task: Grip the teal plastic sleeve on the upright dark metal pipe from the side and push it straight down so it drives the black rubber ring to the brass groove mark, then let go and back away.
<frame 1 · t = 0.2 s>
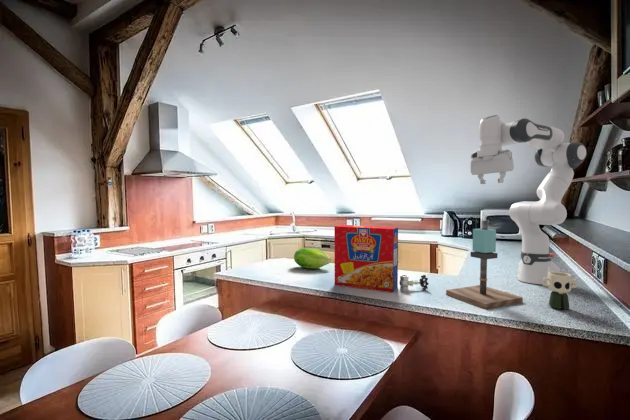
hand: (491, 183, 153), 48 cm above the counter, tool pointing down, fingers open, 8 cm apart
pipe stand: (482, 298, 141), on the counter
valve: (412, 290, 154), on the counter
pasta box: (365, 287, 160), on the counter
green papaya: (311, 269, 198), on the counter
character mug: (558, 308, 129), on the counter
rubber ring: (483, 254, 140), point 18 cm above the counter, slide at 10.0 cm
sleeve: (484, 240, 140), point 24 cm above the counter, slide at 10.5 cm
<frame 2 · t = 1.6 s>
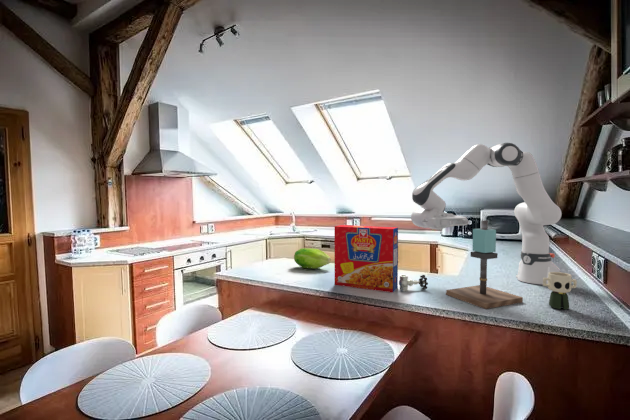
hand: (459, 222, 151), 30 cm above the counter, tool horizontal, fingers open, 8 cm apart
nothing on the counter moved.
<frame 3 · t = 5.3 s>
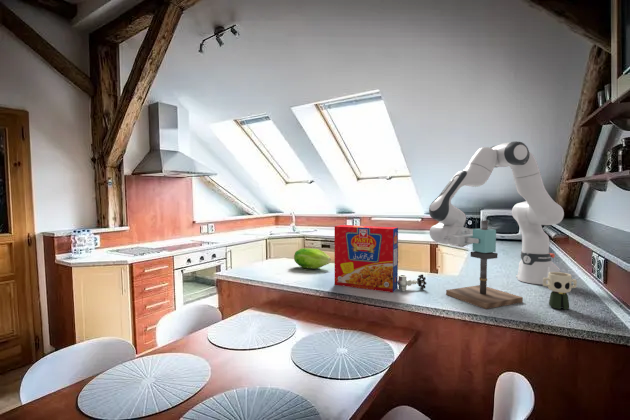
hand: (485, 240, 139), 24 cm above the counter, tool horizontal, fingers closed on sleeve, 6 cm apart
sleeve: (484, 240, 140), point 24 cm above the counter, slide at 10.5 cm, touching gripper
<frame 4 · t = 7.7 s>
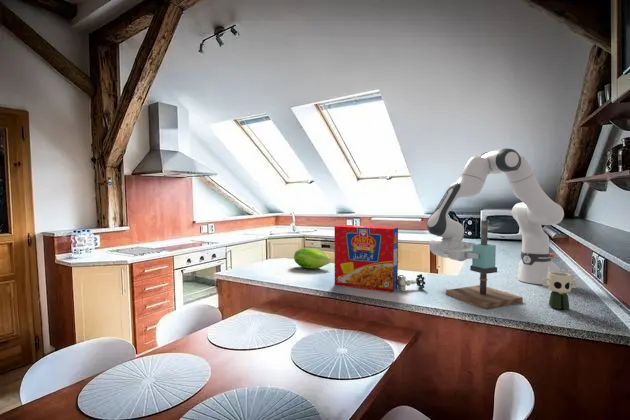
hand: (485, 256, 139), 18 cm above the counter, tool horizontal, fingers closed on sleeve, 6 cm apart
rubber ring: (483, 268, 140), point 12 cm above the counter, slide at 4.2 cm, touching sleeve
sleeve: (483, 255, 140), point 18 cm above the counter, slide at 4.2 cm, touching gripper, rubber ring
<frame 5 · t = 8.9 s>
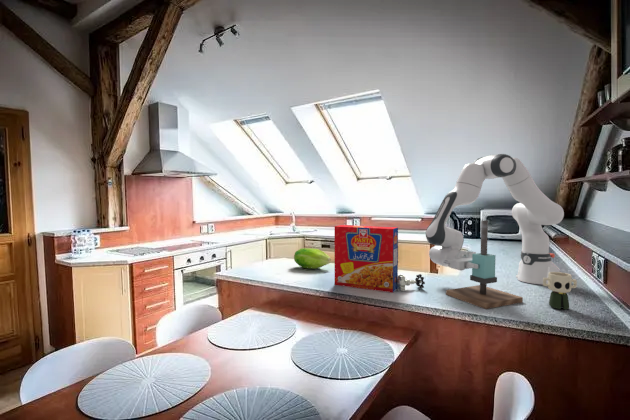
hand: (485, 265, 139), 14 cm above the counter, tool horizontal, fingers closed on sleeve, 6 cm apart
rubber ring: (483, 278, 140), point 8 cm above the counter, slide at 0.2 cm, touching sleeve
sleeve: (483, 265, 140), point 14 cm above the counter, slide at 0.2 cm, touching gripper, rubber ring
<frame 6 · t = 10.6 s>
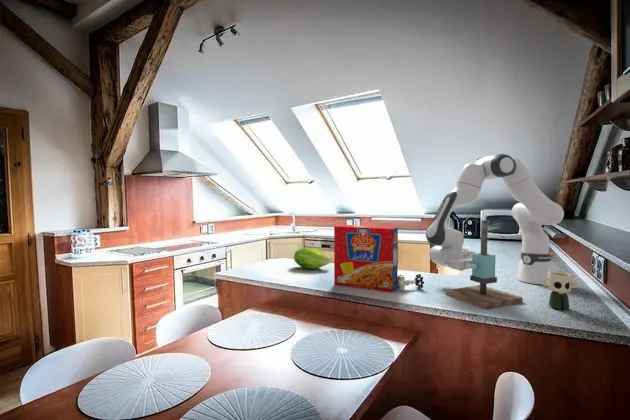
hand: (485, 266, 139), 14 cm above the counter, tool horizontal, fingers open, 8 cm apart
sleeve: (483, 265, 140), point 14 cm above the counter, slide at 0.1 cm, touching rubber ring
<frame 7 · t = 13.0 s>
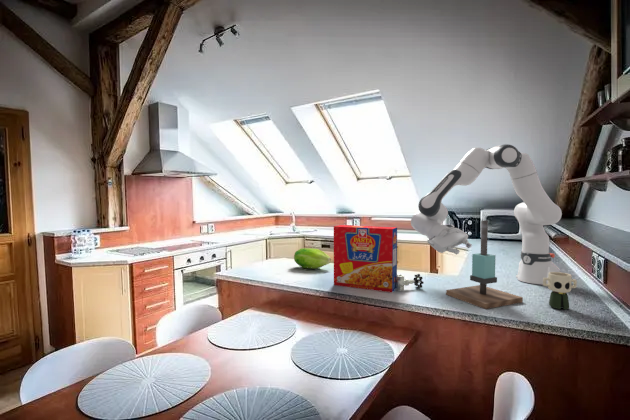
hand: (464, 249, 154), 18 cm above the counter, tool tilted 65°, fingers open, 8 cm apart
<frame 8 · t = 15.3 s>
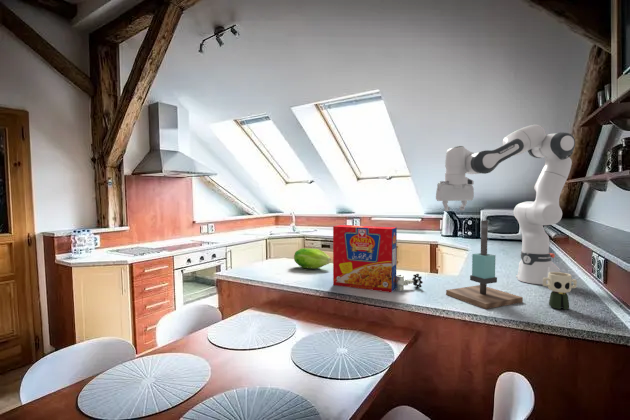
hand: (454, 210, 162), 35 cm above the counter, tool pointing down, fingers open, 8 cm apart
at the end: rubber ring slide at 0.1 cm; the gripper is holding nothing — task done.
